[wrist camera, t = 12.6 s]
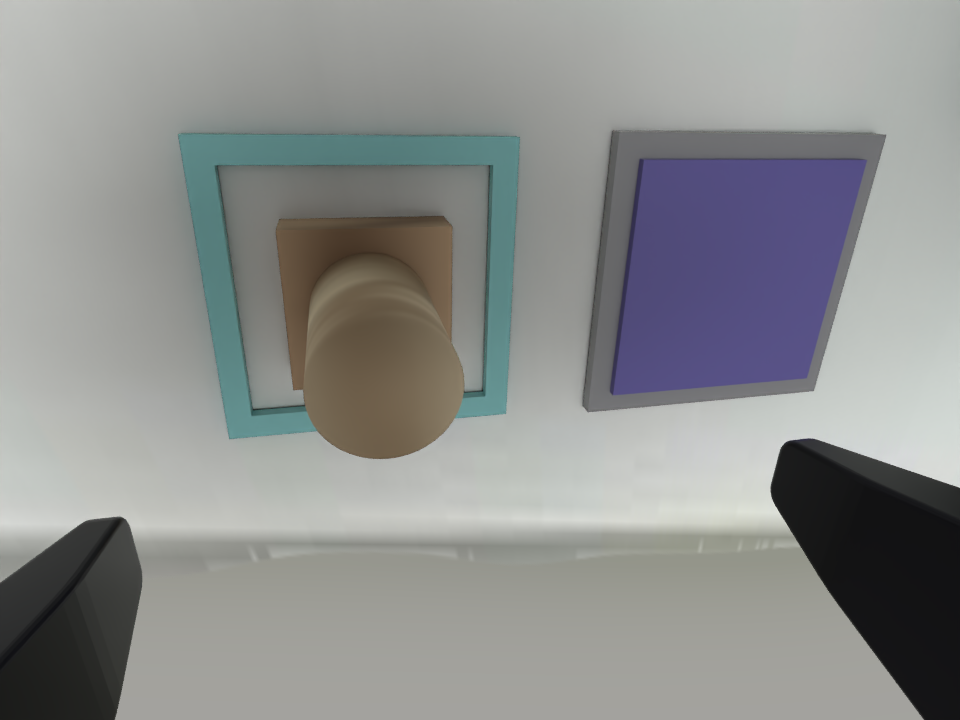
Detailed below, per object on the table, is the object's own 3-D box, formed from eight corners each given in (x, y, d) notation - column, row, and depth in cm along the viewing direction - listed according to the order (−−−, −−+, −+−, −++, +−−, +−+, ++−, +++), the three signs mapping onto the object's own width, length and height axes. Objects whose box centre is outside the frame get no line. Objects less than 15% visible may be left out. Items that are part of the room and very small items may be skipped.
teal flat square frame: (515, 136, 19) (519, 137, 19) (503, 408, 23) (506, 413, 22) (181, 133, 17) (178, 134, 16) (230, 433, 21) (229, 438, 20)
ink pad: (874, 133, 22) (893, 135, 21) (805, 385, 26) (818, 394, 25) (612, 130, 19) (623, 132, 19) (582, 406, 24) (590, 416, 23)
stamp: (443, 215, 19) (497, 280, 13) (442, 358, 22) (489, 471, 15) (279, 218, 18) (256, 290, 12) (295, 368, 20) (282, 494, 14)
